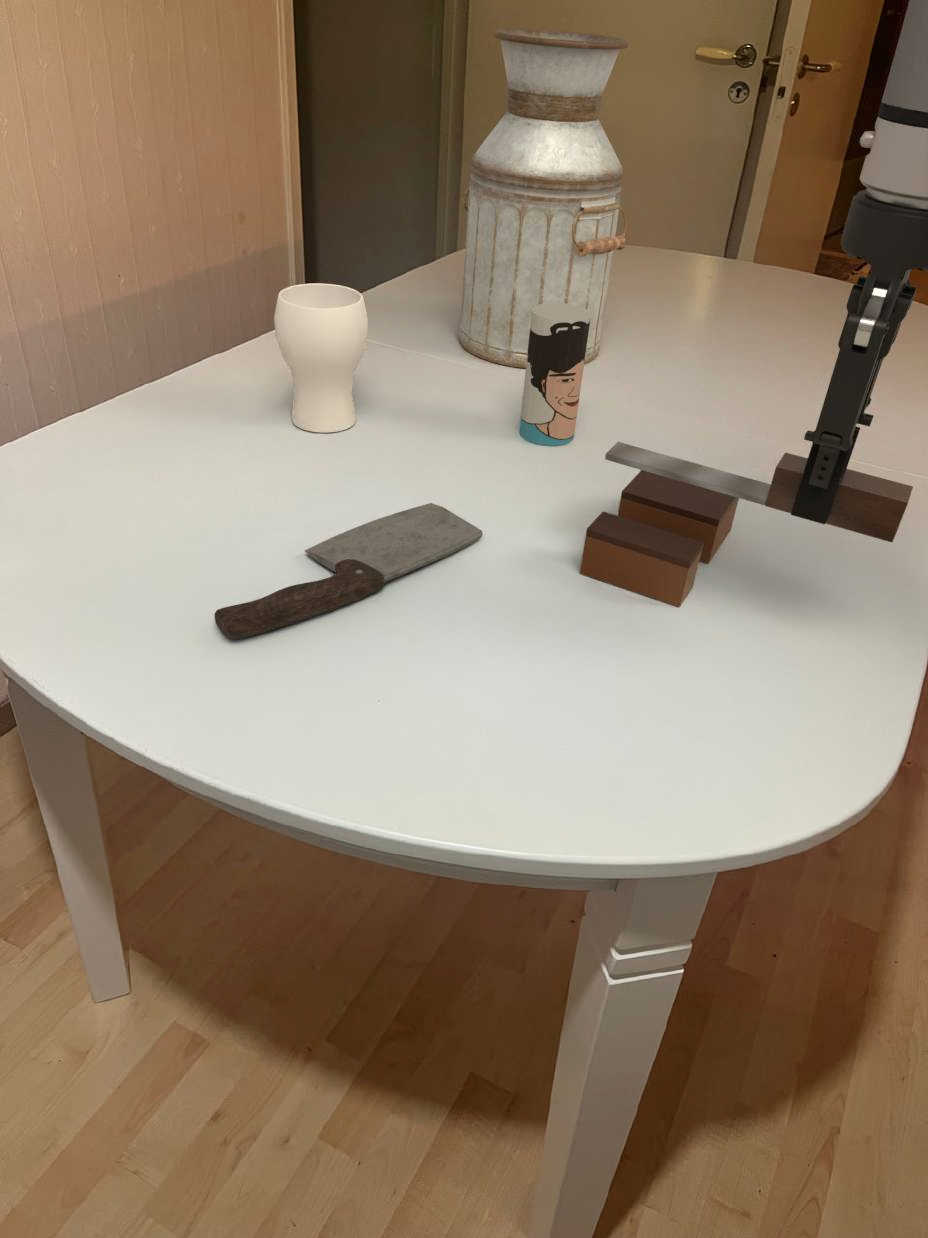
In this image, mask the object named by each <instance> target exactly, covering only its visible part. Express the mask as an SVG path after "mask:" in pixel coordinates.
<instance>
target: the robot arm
mask: <svg viewBox="0 0 928 1238" xmlns="http://www.w3.org/2000/svg"><path fill="white" fill-rule="evenodd" d="M907 4H908V5H907V7H906V8H907V9H906V12H905V15H904V20H903V24H902V27H901V31H900V34H899V38H898V40H897V41H898V42H897V45H896V49H895V52H894V56H893V59H892V63H891V66H890V70H889V74H888V77H887V81H886V85H885V88H884V91H883V94H882V98H881V103H880V104H879V107H878V112H877V118H876V121H875V122H874V123H875V124H874V131H873V130H868V131H867V130H866V131H864V132H863V134H862V135H861V137H860V138H859V145H860V146H861V147H862V148H864V149H865V148H866V149H870V151H869V153H868V154H866V155H865V158H864V162H863V165H862V169H861V171H860V174H859V181H860V183H861V184H862V185H863V186H864V187H866V189H862V190H860V191H858V192H857V193H856V194H855V195H853V196H852V200H851V203H850V206H849V210H848V214H847V217H846V220H845V224H844V228H843V231H842V234H841V238H840V246H841V249H842V251H843V252H844V253H845V254H847V255H848V256H850V257H852V258H855V259H857V260H864V261H865V262H867V263H868V264H869V266H870V267H869V268H870V269H869V271H868V273H867V276H862V275H859V277H858V279H857V281H856V284H855V283H853V285H852V286H851V287H852V288H851V290H850V293H849V296H848V299H847V302H846V311H847V315H846V318H845V321H844V324H843V327H842V331H841V334H840V337H839V339H838V343H837V347H838V349H839V350H838V353H837V357H836V361H835V364H834V366H833V370H832V373H831V377H830V381H829V383H828V386H827V390H826V393H825V397H824V400H823V404H822V407H821V411H820V413H819V416H818V420H817V423H816V427H815V430H813V431H812V430H806V432H805V433H804V436H803V437H804V438H803V440H804V441H809V442H811V443H812V444H811V447H810V451H809V453H808V457H807V458H808V460H807V463H806V466H805V469H804V473H803V476H802V479H801V482H800V485H799V489H798V492H797V495H796V498H795V502H794V505H793V508H792V511H791V513H790V516H793V517H796V518H800V519H804V520H807V521H811V522H814V523H818V524H822V525H826V521H827V518H828V515H829V512H830V509H831V506H832V503H833V500H834V497H835V494H836V491H837V488H838V485H839V482H840V480H841V477H842V474H843V471H844V468H846V469H848V466H849V464H850V460H851V457H852V454H853V451H854V448H855V445H856V442H857V439H858V437H859V433H860V430H861V427H860V426H865V427H869V428H870V427H871V424H872V422H873V418H874V415H873V414H870V413H866V412H865V411H866V410H867V408H868V407H869V406H870V404H871V402H872V393H873V390H874V387H875V385H876V382H877V379H878V376H879V373H880V370H881V367H882V364H883V361H884V359H885V358H886V357H887V356H888V354H889V353H890V352H891V349H892V346H893V345H894V343H895V341H896V339H897V336H898V334H899V331H900V329H901V326H902V322H903V320H904V319H905V318H906V317H907V314H908V312H909V310H910V308H911V306H912V303H913V301H914V298H915V296H916V293H917V289H918V286H915V285H911V279H909V277H910V274H911V271H912V270H918V271H922V272H928V0H908V3H907ZM857 425H860V426H857Z"/></svg>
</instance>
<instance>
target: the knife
mask: <svg viewBox="0 0 928 1238" xmlns="http://www.w3.org/2000/svg"><path fill="white" fill-rule="evenodd" d="M604 460H605V461H610V462H612V463H616V464H619V465H623V466H626V467H630V468H633V469H636V470H640V471H641V470H643V471H647V472H650V473H654V474H657V475H661V476H664V477H668V478H671V479H675V480H678V481H682V482H685V483H688V484H692V485H695V486H699V487H702V488H706V489H709V490H713V491H716V492H720V493H723V494H727V495H730V496H734V497H737V498H739V500H743V501H744V500H745V501H747V502H751V503H755V504H758V505H761V506H765V507H767V508H770V509H774V510H778V511H781V512H785V513H788V514H791V511H792V508H793V505H794V502H795V498H796V495H797V492H798V489H799V485H800V482H801V479H802V476H803V473H804V469H805V466H806V463H807V460H808V457H805V456H801V455H797V454H793V453H790V452H784V453H783V455H782V457H781V458H780V460H779V462H778V463H777V465H776V466H775V468H774V472H773V476H772V479H771V481H770V483H767V482H764V481H760V480H758V479H753V478H750V477H746V476H743V475H739V474H735V473H732V472H728V471H724V470H721V469H717V468H714V467H710V466H707V465H703V464H700V463H696V462H694V461H689V460H686V459H682V458H678V457H676V456H675V457H674V456H671V455H668V454H664V453H661V452H657V451H653V450H650V449H646V448H642V447H638V446H635V445H631V444H629V443H624V442H621V441H617V442H615V444H614V445H613V446H612V447H610V449H609V450H608V451H607V452H605V456H604ZM913 490H914V486H912V485H910V484H906V483H901V482H898V481H895V480H891V479H887V478H884V477H881V476H880V477H879V476H876V475H872V474H868V473H864V472H861V471H857V470H853V469H849V468H847V469H846V468H844V471H843V474H842V477H841V480H840V482H839V485H838V488H837V491H836V494H835V497H834V500H833V503H832V506H831V509H830V512H829V515H828V518H827V521H826V523H825V525H830V526H832V527H837V528H840V529H843V530H845V531H846V530H847V531H850V532H853V533H857V534H861V535H864V536H868V537H871V538H875V539H877V540H882V541H884V542H889V543H893V542H894V540H895V537H896V535H897V532H898V530H899V527H900V525H901V522H902V519H903V517H904V514H905V513H906V509H907V508H908V504H909V502H910V500H911V499H910V498H911V496H912V492H913Z"/></svg>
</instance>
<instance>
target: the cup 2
mask: <svg viewBox="0 0 928 1238" xmlns="http://www.w3.org/2000/svg"><path fill="white" fill-rule="evenodd" d="M590 319H591V313H590V312H589V311H588V310H586V309H585V308H582V307H580V306H576V305H572V304H566V303H542V304H538V305H536V306H534V307H533V308H532V314H531V324H530V333H529V343H528V353H527V362H526V368H525V373H524V382H523V383H524V384H523V390H522V391H523V392H522V402H521V412H520V421H519V429H518V430H519V432H518V434H519V436H520V437H521V439H524V440H525V441H527V442H528V443H531V444H535V445H538V446H544V447H560V446H565V445H568V444H570V443H571V442H572V441H574V437H575V430H576V424H577V416H578V412H579V411H578V410H579V404H580V397H581V389H582V382H583V376H584V375H583V374H584V367H585V363H584V361H585V354H586V347H587V340H588V333H589V326H590Z"/></svg>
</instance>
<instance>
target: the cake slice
mask: <svg viewBox="0 0 928 1238" xmlns="http://www.w3.org/2000/svg"><path fill="white" fill-rule="evenodd" d="M583 543H584V544H583V550H582V555H581V563H580V567H579V575H582V576H585V577H589V578H591V579H593V580H596V581H600V582H603V583H606V584H608V585H612V586H616V587H618V588H621V589H623V590H627V591H630V592H632V593H634V594H635V593H636V594H639V595H641V596H644V597H647V598H651V599H653V600H656V601H659V602H662V603H665V604H668V605H670V606H674V607H677V608H680V607H682V604H683V603H684V601H685V600H686V598H687V597H688V595H689V594H690V592H691V591H692V589H693V588H694V584H695V581H696V576H697V572H698V568H699V565H700V561H699V560H700V556H701V552H702V548H703V544H704V543H703V542H700V541H697V540H694V539H691V538H687V537H684V536H681V535H678V534H674V533H671V532H668V531H665V530H662V529H658V528H655V527H652V526H649V525H645V524H642V523H639V522H636V521H632V520H629V519H626V518H623V517H620V516H618V515H616V514H613V513H609V512H606V511H602V512H601V513H600V514H599V515H598V516H597V517H596V518H595V519H594V520H593V521H592V522H591V523H590V524H589V526H588V527H586V532H585V536H584V542H583Z"/></svg>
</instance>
